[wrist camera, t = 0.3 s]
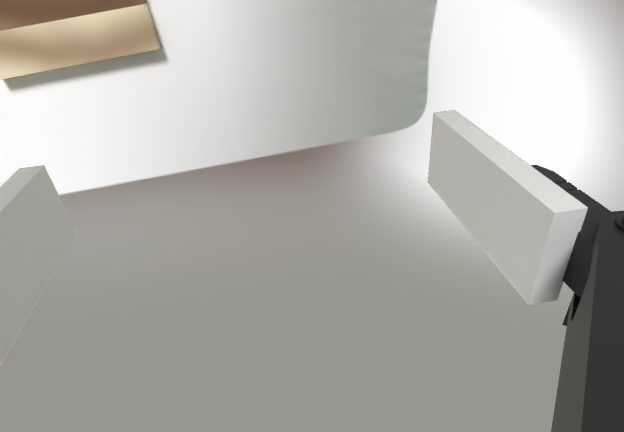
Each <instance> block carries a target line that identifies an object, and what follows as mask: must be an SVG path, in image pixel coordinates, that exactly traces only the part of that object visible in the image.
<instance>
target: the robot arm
mask: <svg viewBox="0 0 624 432" xmlns="http://www.w3.org/2000/svg"><path fill="white" fill-rule="evenodd" d="M432 126H433V127H432V138H431V150H430V163H429V177H428V183H429V184H430V185H431V187H432V188H433V189H434V190H435V192H436V193H437V194H438V195H439V196H440V198H441V199H442V200H443V201H444V202H445V204H446V205H447V206H448V207H449V209H450V210H451V211H452V212H453V214H454V215H455V216H456V217H457V218H458V220H459V221H460V222H461V223H462V225H463V226H464V227H465V228H466V229H467V231H468V232H469V233H470V234H471V236H472V237H473V238H474V239H475V240H476V242H477V243H478V244H479V245H480V246H481V248H482V249H483V250H484V251H485V253H486V254H487V255H488V256H489V258H490V259H491V260H492V261H493V262H494V264H495V265H496V266H497V267H498V268H499V270H500V271H501V272H502V273H503V275H504V276H505V277H506V278H507V279H508V281H509V282H510V283H511V284H512V286H513V287H514V288H515V289H516V290H517V292H518V293H519V294H520V295H521V297H522V298H523V299H524V300H525V301H526V303H527V304H528V305H532V304H537V303H543V302H548V301H554V300H557V299H558V296H559V293H560V290H561V287H562V284H563V281H564V282H565V283H566V284H567V285H568V286H569V287H570V288H571V289H572V290H573V291H574V295H573V297H572V300H571V303H570V306H569V308H568V311H567V314H566V316H565V319H564V322H563V325H565V326H567V329H566V336H565V342H564V349H563V356H562V363H561V370H560V376H559V383H558V389H557V396H556V403H555V410H554V417H553V423H552V430H551V432H624V211H615V212H611V211H609V210H608V209H607V208H605V207H604V206H602V205H601V204H599V203H598V202H597V201H595V200H594V199H592V198H591V197H589V196H588V195H587V194H585V193H584V192H582V191H581V190H577V188H576V187H575V186H574V185H572V184H571V183H569V182H568V183H567V182H566V180H565V179H564V178H562V177H561V176H559V175H558V174H556V173H555V172H553V171H550V170H548V169H545V168H543V167H540V166H537V165H532V166H530V165H529V164H528V163H526V162H525V161H524V160H522V159H521V158H519V157H518V156H517V155H515V154H514V153H513V152H511V151H510V150H508V149H507V148H506V147H504V146H503V145H502V144H500V143H499V142H497V141H496V140H495V139H493V138H492V137H491V136H489V135H488V134H487V133H485V132H484V131H483V130H481V129H480V128H478V127H477V126H476V125H474V124H473V123H472V122H470V121H469V120H467V119H466V118H465V117H463V116H462V115H461V114H459V113H458V112H457V111H455V110H451V111H444V112H437V113H433V125H432ZM76 236H77V232H76V230H75V228H74V226H73V224H72V222H71V220H70V218H69V216H68V214H67V212H66V210H65V208H64V205H63V204H62V201H61V199H60V197H59V195H58V193H57V191H56V189H55V187H54V185H53V183H52V181H51V179H50V177H49V175H48V173H47V171H46V169H45V167H44V165H43V166H36V167H28V168H21V169H19V170H17V171H16V172H15V173H14V174H13V175H12V176H11V177H10V178H9V179H8V180H7V181H6V182H5V183H4V184H3V185H2V186H1V187H0V366H1V364H2V363H3V361H4V359H5V358H6V356H7V354H8V352H9V351H10V349H11V347H12V345H13V344H14V342H15V340H16V339H17V337H18V335H19V334H20V332H21V330H22V328H23V327H24V325H25V323H26V322H27V320H28V318H29V316H30V315H31V313H32V311H33V310H34V308H35V306H36V304H37V303H38V301H39V299H40V298H41V296H42V294H43V292H44V291H45V289H46V287H47V286H48V284H49V282H50V280H51V279H52V277H53V275H54V273H55V272H56V270H57V268H58V267H59V265H60V263H61V262H62V260H63V258H64V256H65V255H66V253H67V251H68V250H69V248H70V246H71V244H72V243H73V241H74V239H75V237H76Z"/></svg>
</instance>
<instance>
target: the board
mask: <svg viewBox="0 0 624 432" xmlns="http://www.w3.org/2000/svg"><path fill="white" fill-rule="evenodd" d="M160 48H161V45H160V42H159V39H158V36H157V33H156V30H155V27H154V24H153V21H152V18H151V15H150V12H149V9H148V6H147V3H146V0H0V80H1V79H6V78H12V77H17V76H22V75H27V74H32V73H38V72H43V71H48V70H53V69H59V68H64V67H69V66H74V65H79V64H85V63H90V62H95V61H100V60H106V59H111V58H116V57H121V56H127V55H132V54H137V53H142V52H147V51H153V50H158V49H160Z"/></svg>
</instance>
